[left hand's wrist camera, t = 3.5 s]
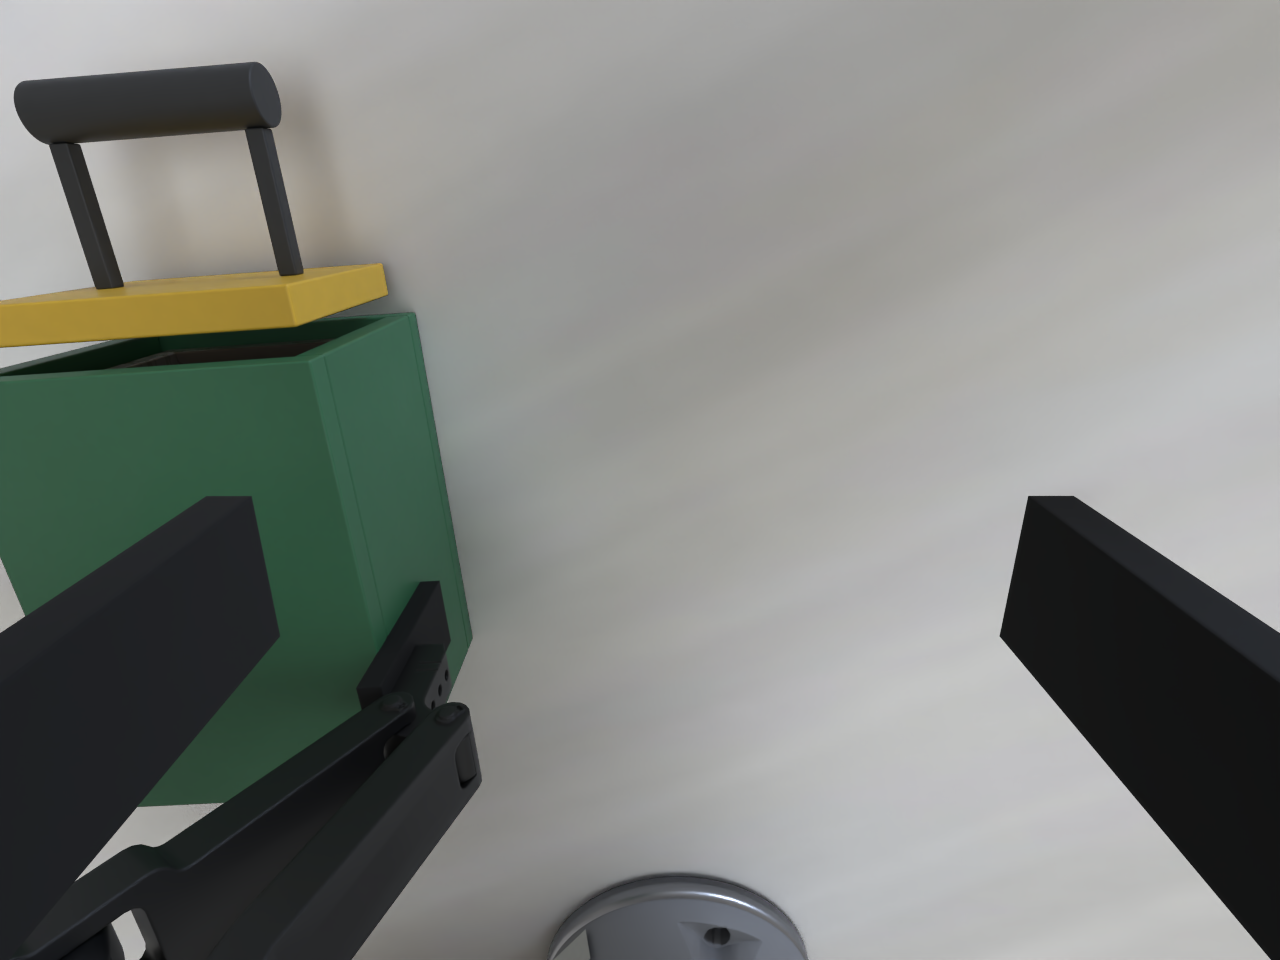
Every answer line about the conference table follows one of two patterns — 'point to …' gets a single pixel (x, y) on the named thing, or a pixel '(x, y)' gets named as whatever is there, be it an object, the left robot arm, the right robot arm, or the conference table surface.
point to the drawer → (189, 302)
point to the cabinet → (282, 497)
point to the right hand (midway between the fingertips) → (288, 619)
